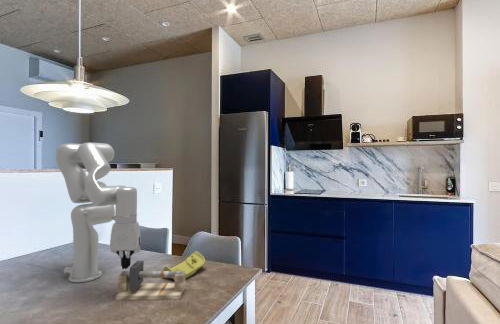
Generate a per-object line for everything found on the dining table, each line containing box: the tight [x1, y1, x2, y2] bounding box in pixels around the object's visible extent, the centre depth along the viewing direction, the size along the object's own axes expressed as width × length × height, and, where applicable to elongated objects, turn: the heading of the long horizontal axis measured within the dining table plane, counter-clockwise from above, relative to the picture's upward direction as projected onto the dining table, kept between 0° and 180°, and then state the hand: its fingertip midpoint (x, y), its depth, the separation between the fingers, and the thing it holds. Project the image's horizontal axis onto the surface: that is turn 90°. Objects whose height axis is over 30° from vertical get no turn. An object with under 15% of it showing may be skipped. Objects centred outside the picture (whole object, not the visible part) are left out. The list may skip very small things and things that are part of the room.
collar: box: [129, 260, 145, 290], centre depth 110 cm, size 2×8×8 cm, turn 2°
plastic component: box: [162, 250, 206, 281], centre depth 131 cm, size 20×7×10 cm
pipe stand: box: [115, 270, 186, 301], centre depth 111 cm, size 24×11×8 cm, turn 92°
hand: (125, 267), depth 110 cm, fingers closed
